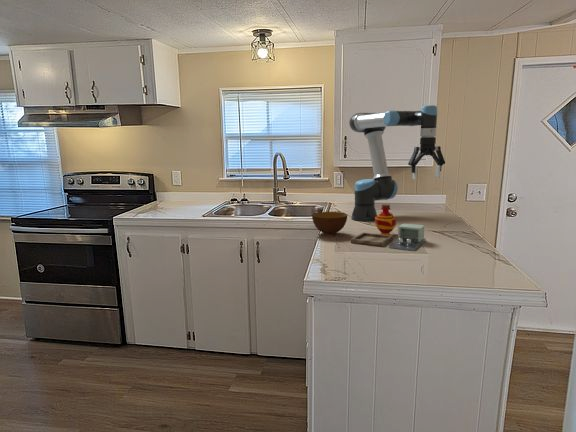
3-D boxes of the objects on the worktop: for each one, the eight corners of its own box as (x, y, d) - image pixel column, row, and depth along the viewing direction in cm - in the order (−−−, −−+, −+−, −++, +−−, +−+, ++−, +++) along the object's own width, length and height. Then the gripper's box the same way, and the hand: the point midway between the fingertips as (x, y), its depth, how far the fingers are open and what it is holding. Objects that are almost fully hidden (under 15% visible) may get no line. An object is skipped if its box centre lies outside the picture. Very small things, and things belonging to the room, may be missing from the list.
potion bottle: (396, 233, 204) (397, 203, 201) (394, 237, 194) (395, 206, 192) (375, 231, 207) (375, 203, 205) (372, 236, 198) (373, 206, 195)
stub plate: (388, 247, 177) (388, 239, 176) (402, 238, 193) (402, 230, 193) (414, 250, 171) (414, 242, 170) (425, 240, 188) (426, 233, 187)
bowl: (305, 235, 204) (304, 215, 202) (326, 229, 217) (326, 210, 215) (333, 240, 192) (333, 219, 191) (354, 233, 205) (354, 214, 203)
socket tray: (350, 242, 187) (350, 239, 186) (363, 236, 199) (363, 232, 199) (382, 246, 179) (382, 242, 178) (393, 239, 191) (393, 235, 191)
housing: (398, 239, 186) (398, 226, 185) (402, 236, 192) (402, 223, 190) (419, 241, 181) (420, 228, 179) (423, 238, 186) (424, 225, 185)
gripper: (410, 137, 199) (408, 180, 203) (453, 136, 205) (451, 178, 209) (402, 137, 206) (400, 178, 210) (444, 136, 213) (442, 176, 217)
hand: (426, 178), depth 210 cm, fingers open, 13 cm apart
